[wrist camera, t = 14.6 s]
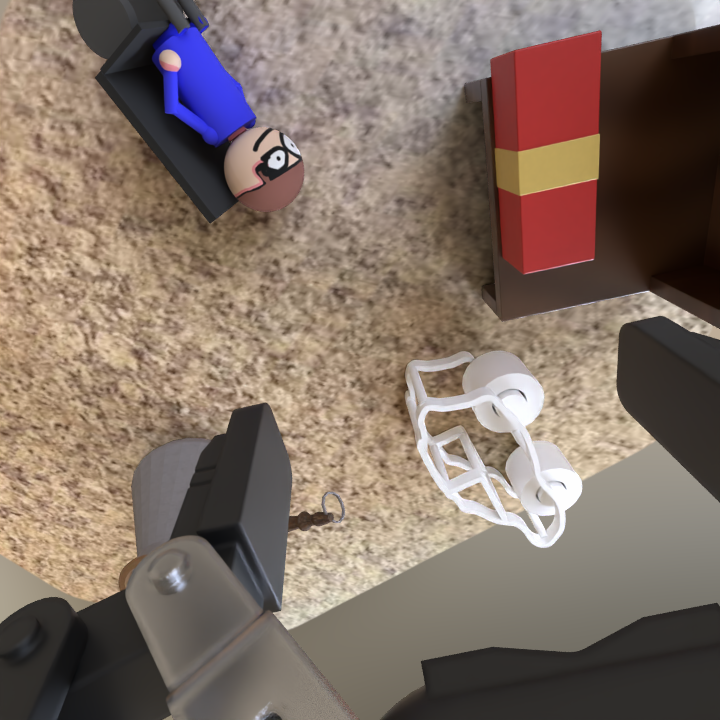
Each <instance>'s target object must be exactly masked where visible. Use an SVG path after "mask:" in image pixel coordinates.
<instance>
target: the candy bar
mask: <svg viewBox="0 0 720 720" xmlns="http://www.w3.org/2000/svg"><path fill="white" fill-rule="evenodd" d="M601 38H602V32H601V31H596V32H591V33H587V34H583V35H578V36H574V37H570V38H565V39H561V40H557V41H552V42H548V43H544V44H539V45H535V46H531V47H527V48H522V49H518V50H514V51H511V52H509V53H506V54H503V55H500V56H497V57H495V58H492V59H491V60H490V63H491V79H492V95H493V111H494V128H495V144H496V148H495V162H496V178H497V187H498V193H499V209H500V225H501V241H502V257H503V258H504V259H505V260H506V261H507V262H509V263H510V264H511V265H512V266H514V267H515V268H516V269H517V270H519V271H520V272H521V273H522V274H528V273H533V272H537V271H542V270H547V269H551V268H556V267H561V266H566V265H570V264H575V263H580V262H584V261H589V260H593V259H594V258H595V227H596V195H597V179H598V177H599V147H600V134H598V132H599V101H600V69H601Z"/></svg>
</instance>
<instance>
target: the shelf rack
mask: <svg viewBox="0 0 720 720" xmlns="http://www.w3.org/2000/svg"><path fill="white" fill-rule="evenodd" d="M465 94H466V103H470V102H480V101H482V107H483V121H484V136H485V150H486V164H487V178H488V193H489V207H490V221H491V235H492V250H493V264H494V278H495V283H494V284H489V285H485V286H482V296H483V300H484V301H485V302H486V303H487V304H488V306H489V307H490V308H491V309H492V310H493V312H494V313H495V314H496V315H497V316H498V317H499V319H500V320H501V321H502V322H503V321H508V320H513V319H518V318H522V317H527V316H532V315H537V314H542V313H546V312H551V311H556V310H561V309H566V308H570V307H575V306H580V305H585V304H589V303H594V302H599V301H604V300H609V299H613V298H618V297H623V296H628V295H633V294H637V293H642V292H647V291H650V292H652V293H654V294H656V295H658V296H660V297H661V298H663V299H665V300H667V301H669V302H671V303H672V304H674V305H676V306H678V307H680V308H682V309H684V310H685V311H687V312H689V313H691V314H693V315H695V316H697V317H698V318H700V319H702V320H704V321H706V322H708V323H710V324H711V325H713V326H715V327H717V328H719V329H720V24H719V25H715V26H711V27H706V28H702V29H698V30H694V31H689V32H685V33H681V34H677V35H673V36H668V37H664V38H659V39H655V40H651V41H646V42H642V43H638V44H633V45H629V46H625V47H620V48H616V49H611V50H607V51H603V52H601V69H600V101H599V132H598V134H600V147H599V177H598V179H597V195H596V227H595V258H594V259H593V260H589V261H584V262H580V263H575V264H570V265H566V266H561V267H556V268H551V269H547V270H542V271H537V272H533V273H528V274H522V273H521V272H520V271H519V270H517V269H516V268H515V267H514V266H512V265H511V264H510V263H509V262H507V261H506V260H505V259H504V258H503V257H502V241H501V225H500V209H499V193H498V187H497V178H496V162H495V148H496V144H495V128H494V111H493V95H492V79H491V77H489V78H485V79H481V80H477V81H473V82H469V83H465Z"/></svg>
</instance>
